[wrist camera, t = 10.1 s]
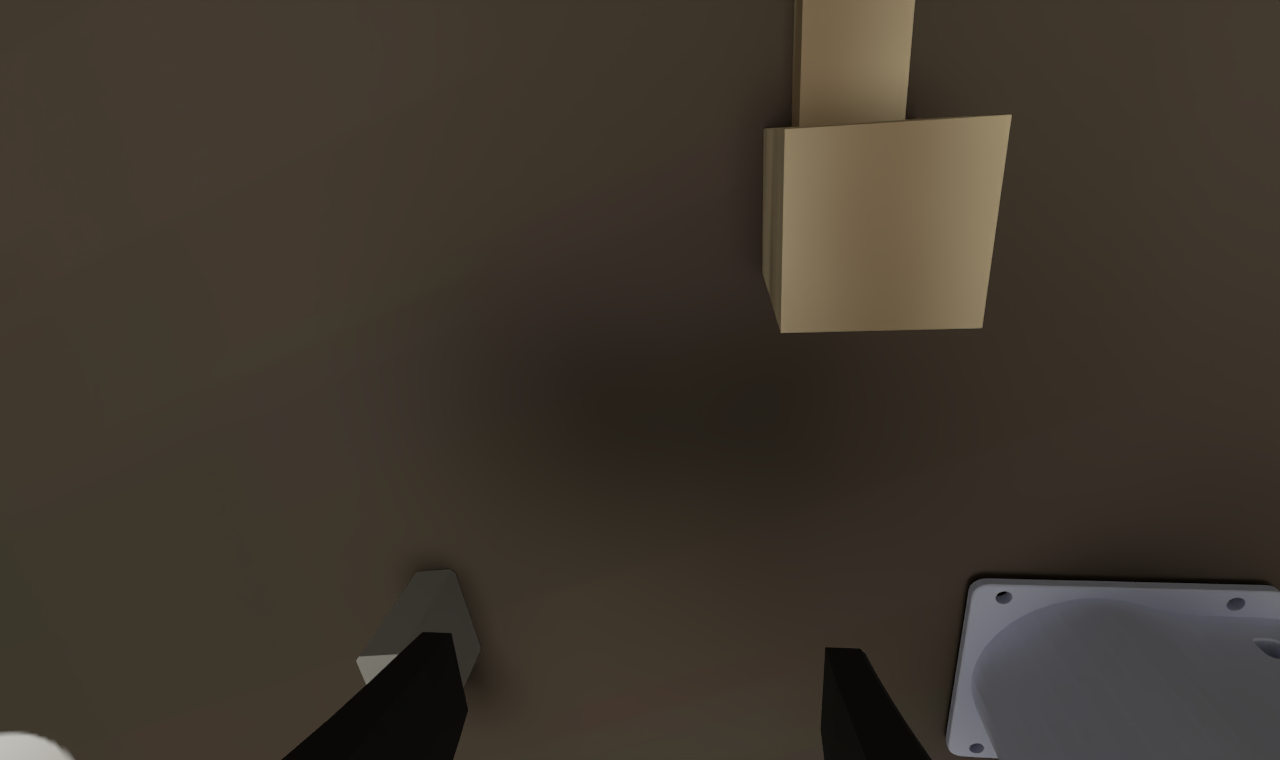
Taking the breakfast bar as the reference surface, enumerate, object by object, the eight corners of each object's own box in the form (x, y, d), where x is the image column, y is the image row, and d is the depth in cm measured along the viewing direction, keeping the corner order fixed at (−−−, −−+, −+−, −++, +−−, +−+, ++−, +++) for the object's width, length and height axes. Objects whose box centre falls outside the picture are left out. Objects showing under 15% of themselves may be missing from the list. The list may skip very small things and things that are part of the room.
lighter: (412, 572, 25) (282, 761, 17) (453, 568, 24) (339, 760, 17) (462, 708, 27) (367, 925, 20) (501, 706, 27) (418, 926, 20)
